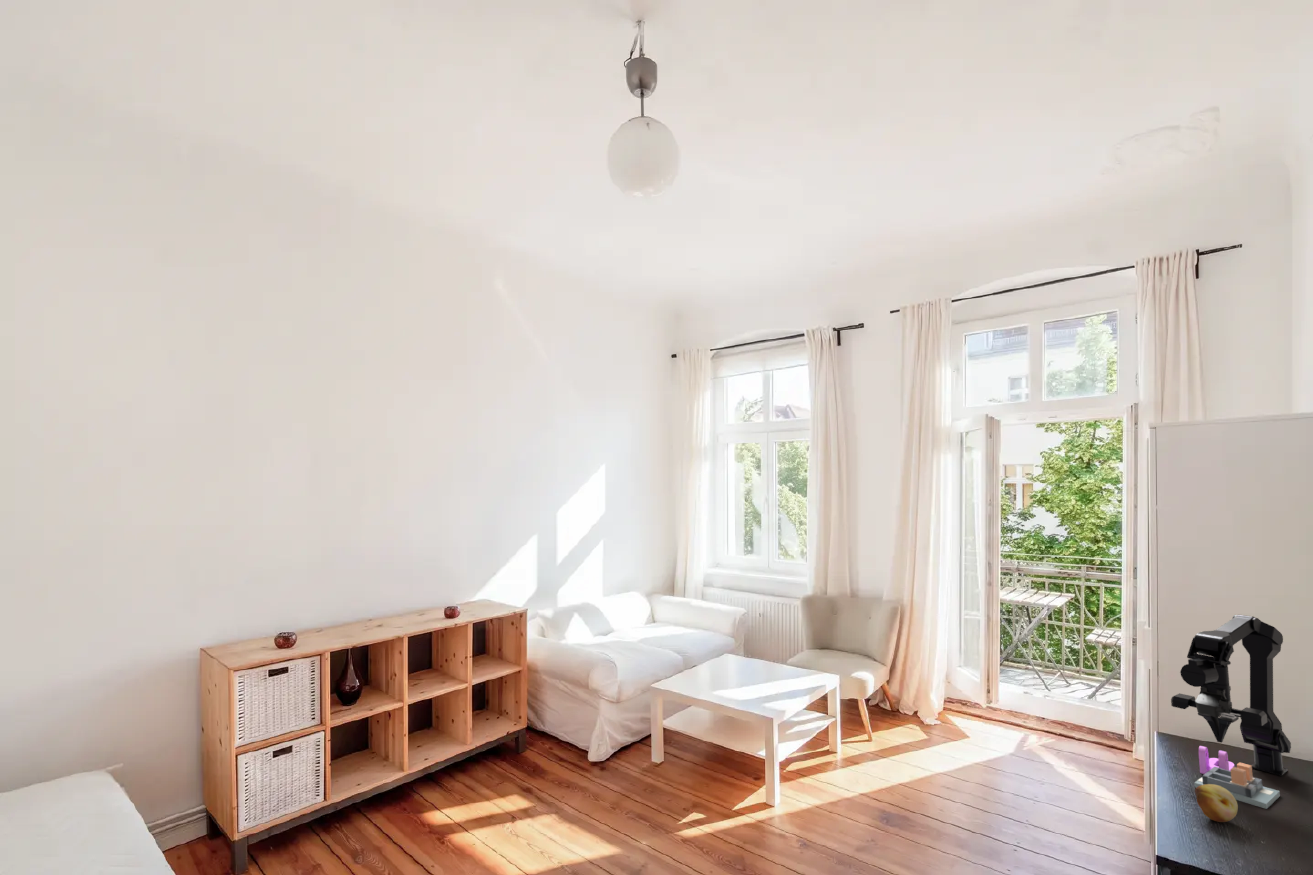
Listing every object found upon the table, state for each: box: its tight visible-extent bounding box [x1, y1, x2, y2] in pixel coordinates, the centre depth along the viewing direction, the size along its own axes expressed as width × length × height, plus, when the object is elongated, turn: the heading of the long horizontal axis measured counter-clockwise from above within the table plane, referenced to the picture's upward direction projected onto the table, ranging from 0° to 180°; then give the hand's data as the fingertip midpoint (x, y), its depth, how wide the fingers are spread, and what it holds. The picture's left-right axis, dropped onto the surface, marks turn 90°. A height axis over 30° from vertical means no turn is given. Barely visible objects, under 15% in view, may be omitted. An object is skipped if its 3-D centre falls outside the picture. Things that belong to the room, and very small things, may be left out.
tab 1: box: [1230, 766, 1249, 787], centre depth 161 cm, size 3×3×5 cm
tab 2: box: [1236, 762, 1256, 782], centre depth 164 cm, size 3×3×5 cm
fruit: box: [1194, 784, 1239, 823], centre depth 149 cm, size 8×8×8 cm
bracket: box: [1198, 745, 1236, 775], centre depth 177 cm, size 13×6×7 cm, turn 128°
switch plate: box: [1194, 766, 1281, 810], centre depth 164 cm, size 12×14×3 cm
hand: (1219, 741), depth 168 cm, fingers closed
